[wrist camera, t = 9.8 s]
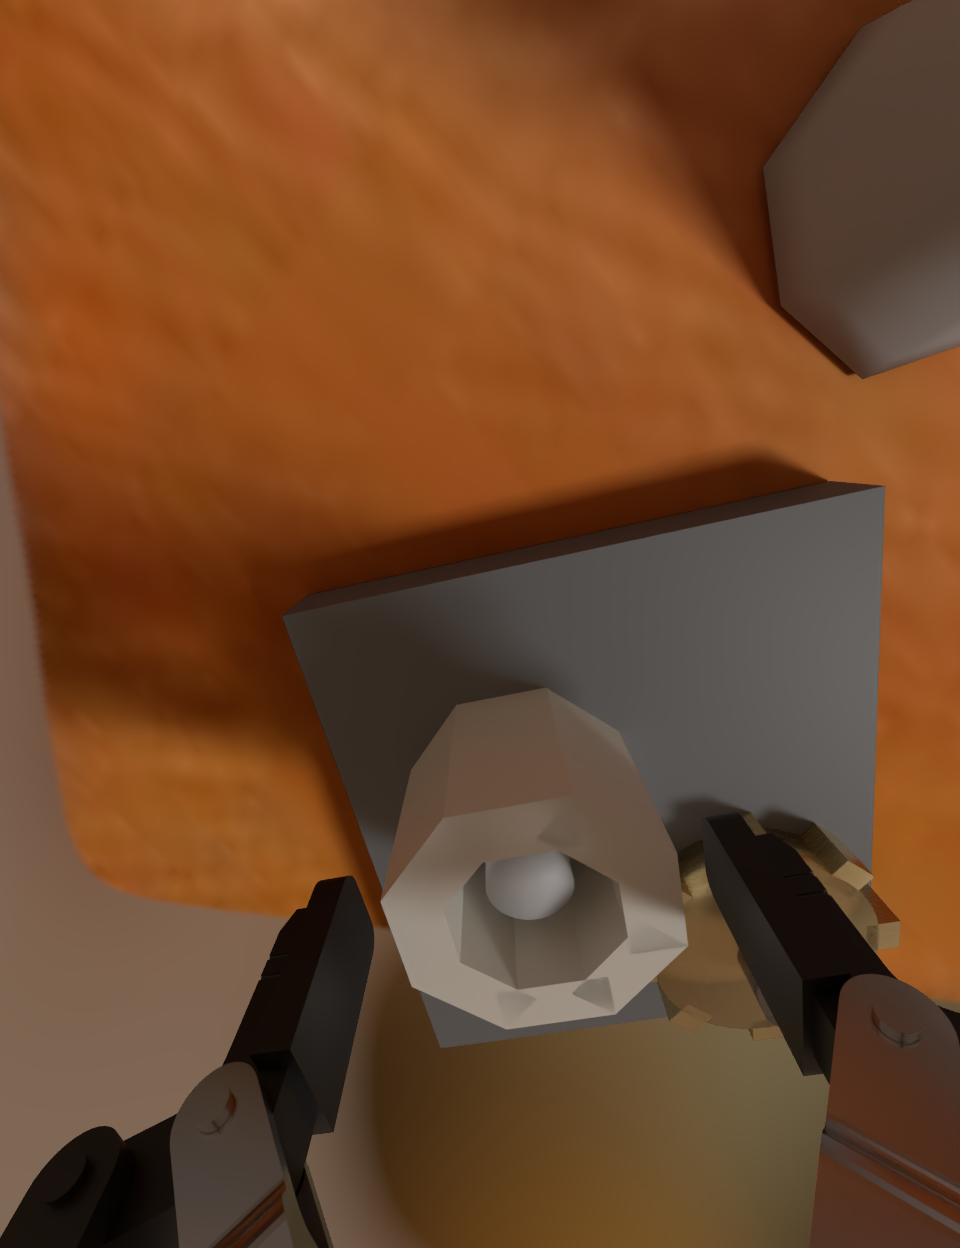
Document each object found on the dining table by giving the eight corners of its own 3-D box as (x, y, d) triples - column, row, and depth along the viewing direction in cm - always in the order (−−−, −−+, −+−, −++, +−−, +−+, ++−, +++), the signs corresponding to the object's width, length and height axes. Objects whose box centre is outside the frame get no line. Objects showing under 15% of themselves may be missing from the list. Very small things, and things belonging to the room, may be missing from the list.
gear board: (307, 595, 15) (212, 672, 10) (830, 481, 14) (1039, 499, 9) (445, 992, 20) (430, 1179, 15) (829, 935, 19) (957, 1117, 14)
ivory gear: (394, 716, 14) (354, 833, 10) (611, 674, 13) (668, 778, 9) (446, 881, 16) (431, 1039, 12) (637, 850, 15) (695, 1003, 11)
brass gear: (607, 836, 15) (635, 924, 12) (865, 792, 15) (956, 875, 12) (636, 1006, 18) (666, 1113, 15) (859, 974, 17) (934, 1079, 14)
